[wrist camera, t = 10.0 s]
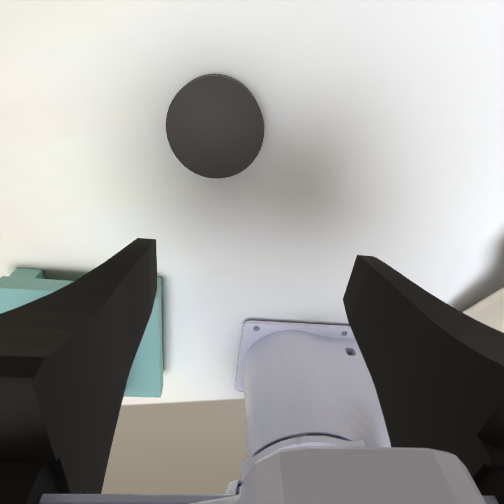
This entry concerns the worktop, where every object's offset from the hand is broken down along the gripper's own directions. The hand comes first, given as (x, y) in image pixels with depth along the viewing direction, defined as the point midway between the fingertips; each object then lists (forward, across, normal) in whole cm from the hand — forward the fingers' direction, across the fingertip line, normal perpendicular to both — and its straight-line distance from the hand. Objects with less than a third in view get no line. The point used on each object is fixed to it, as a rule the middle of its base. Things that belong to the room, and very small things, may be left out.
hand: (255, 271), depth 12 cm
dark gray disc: (+10, +2, -3) cm, 11 cm away
